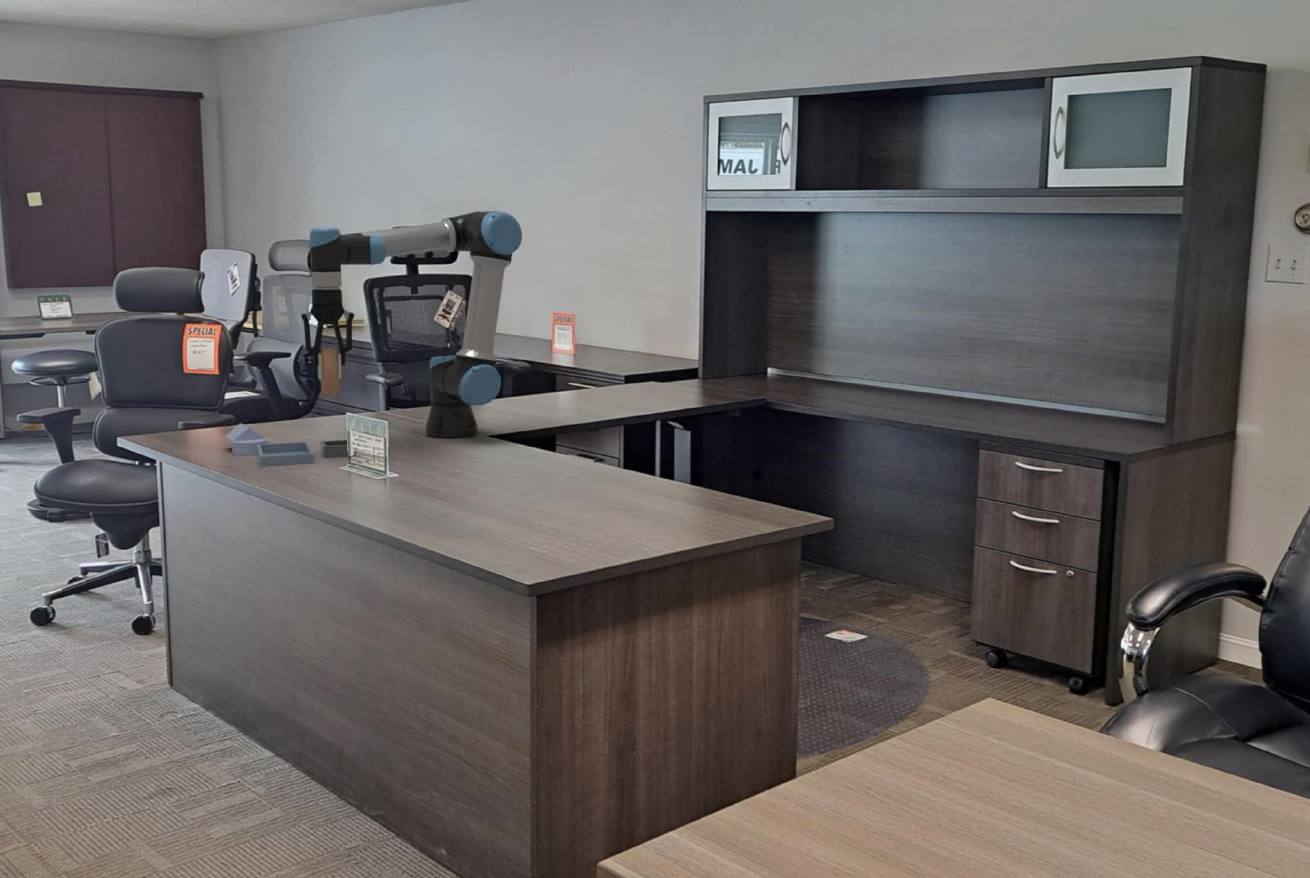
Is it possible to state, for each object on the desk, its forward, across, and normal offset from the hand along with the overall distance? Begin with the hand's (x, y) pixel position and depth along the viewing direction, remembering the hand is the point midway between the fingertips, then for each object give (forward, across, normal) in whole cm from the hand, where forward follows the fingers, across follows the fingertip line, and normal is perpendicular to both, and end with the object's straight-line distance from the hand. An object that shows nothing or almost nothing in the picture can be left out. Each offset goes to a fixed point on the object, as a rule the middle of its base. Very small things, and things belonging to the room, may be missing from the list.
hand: (330, 378), depth 319 cm
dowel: (+4, 0, 0) cm, 4 cm away
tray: (+21, +12, +1) cm, 24 cm away
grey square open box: (+21, -1, 0) cm, 21 cm away
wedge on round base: (+21, +21, -16) cm, 34 cm away
